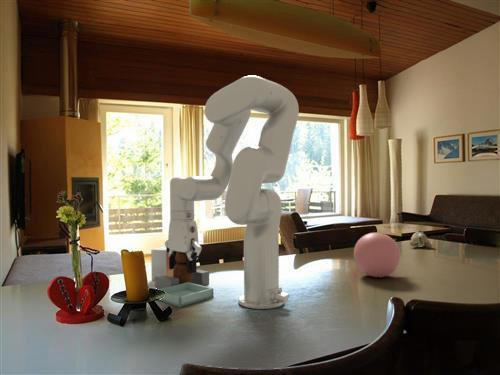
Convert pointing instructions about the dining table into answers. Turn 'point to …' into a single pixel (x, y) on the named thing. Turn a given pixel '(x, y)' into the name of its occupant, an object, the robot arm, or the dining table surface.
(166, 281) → the grey blocks
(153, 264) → the small box
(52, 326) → the dining table surface
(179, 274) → the wooden figurine
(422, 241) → the ceramic sculpture
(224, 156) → the robot arm
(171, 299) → the tray
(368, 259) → the pink rubber ball
